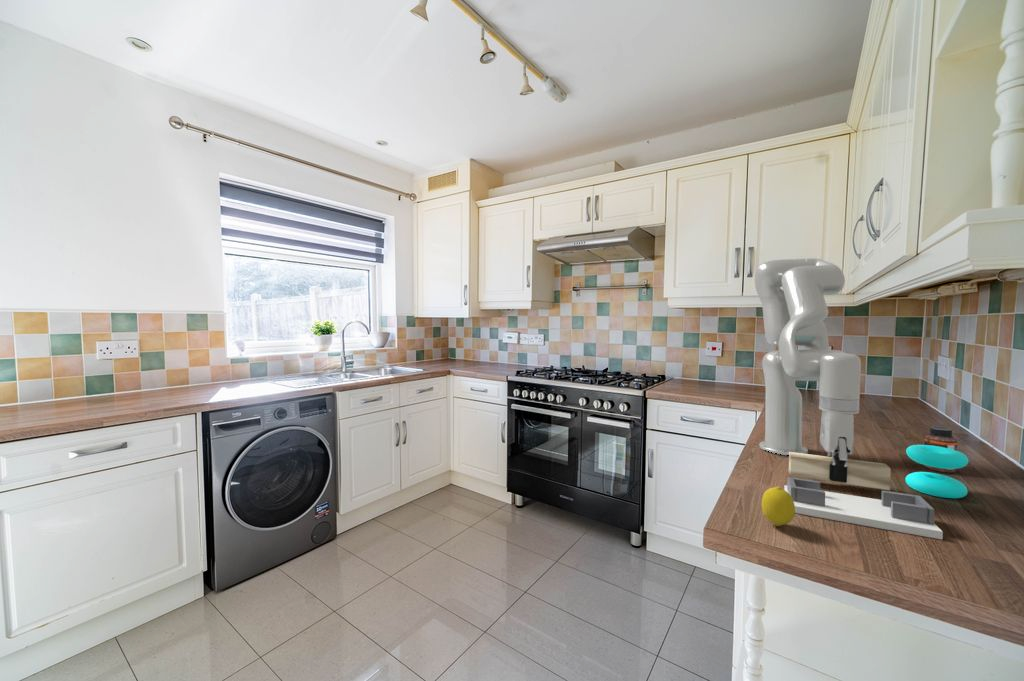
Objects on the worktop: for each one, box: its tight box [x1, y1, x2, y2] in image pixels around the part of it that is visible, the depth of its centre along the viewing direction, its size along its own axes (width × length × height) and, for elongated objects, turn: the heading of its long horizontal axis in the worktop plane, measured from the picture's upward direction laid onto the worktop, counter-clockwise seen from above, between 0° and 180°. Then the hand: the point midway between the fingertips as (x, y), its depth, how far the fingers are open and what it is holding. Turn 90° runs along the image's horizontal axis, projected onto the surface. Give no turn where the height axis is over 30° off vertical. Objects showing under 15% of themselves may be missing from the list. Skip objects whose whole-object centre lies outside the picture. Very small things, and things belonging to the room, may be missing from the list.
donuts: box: [905, 444, 969, 499], centre depth 93 cm, size 10×10×10 cm
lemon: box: [761, 486, 796, 527], centre depth 78 cm, size 6×6×8 cm
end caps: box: [786, 476, 935, 525], centre depth 83 cm, size 7×22×3 cm, turn 61°
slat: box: [788, 452, 892, 491], centre depth 96 cm, size 4×19×5 cm, turn 61°
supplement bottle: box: [923, 426, 958, 474], centre depth 106 cm, size 6×6×11 cm
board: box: [783, 484, 944, 540], centre depth 83 cm, size 12×23×2 cm, turn 61°
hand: (836, 477), depth 96 cm, fingers closed on slat, 3 cm apart
